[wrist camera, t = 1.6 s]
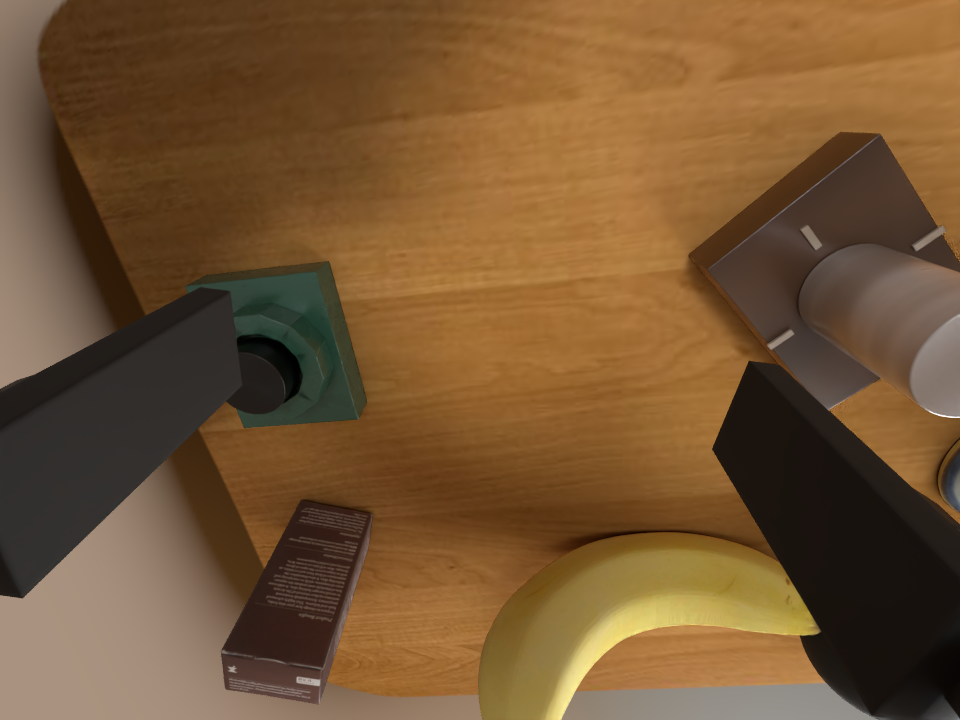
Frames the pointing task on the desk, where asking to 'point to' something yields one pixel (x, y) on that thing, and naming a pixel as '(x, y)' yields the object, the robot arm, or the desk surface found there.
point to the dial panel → (817, 251)
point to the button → (264, 376)
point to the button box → (297, 338)
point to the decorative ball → (838, 680)
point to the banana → (624, 612)
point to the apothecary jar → (951, 477)
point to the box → (299, 606)
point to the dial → (891, 320)
